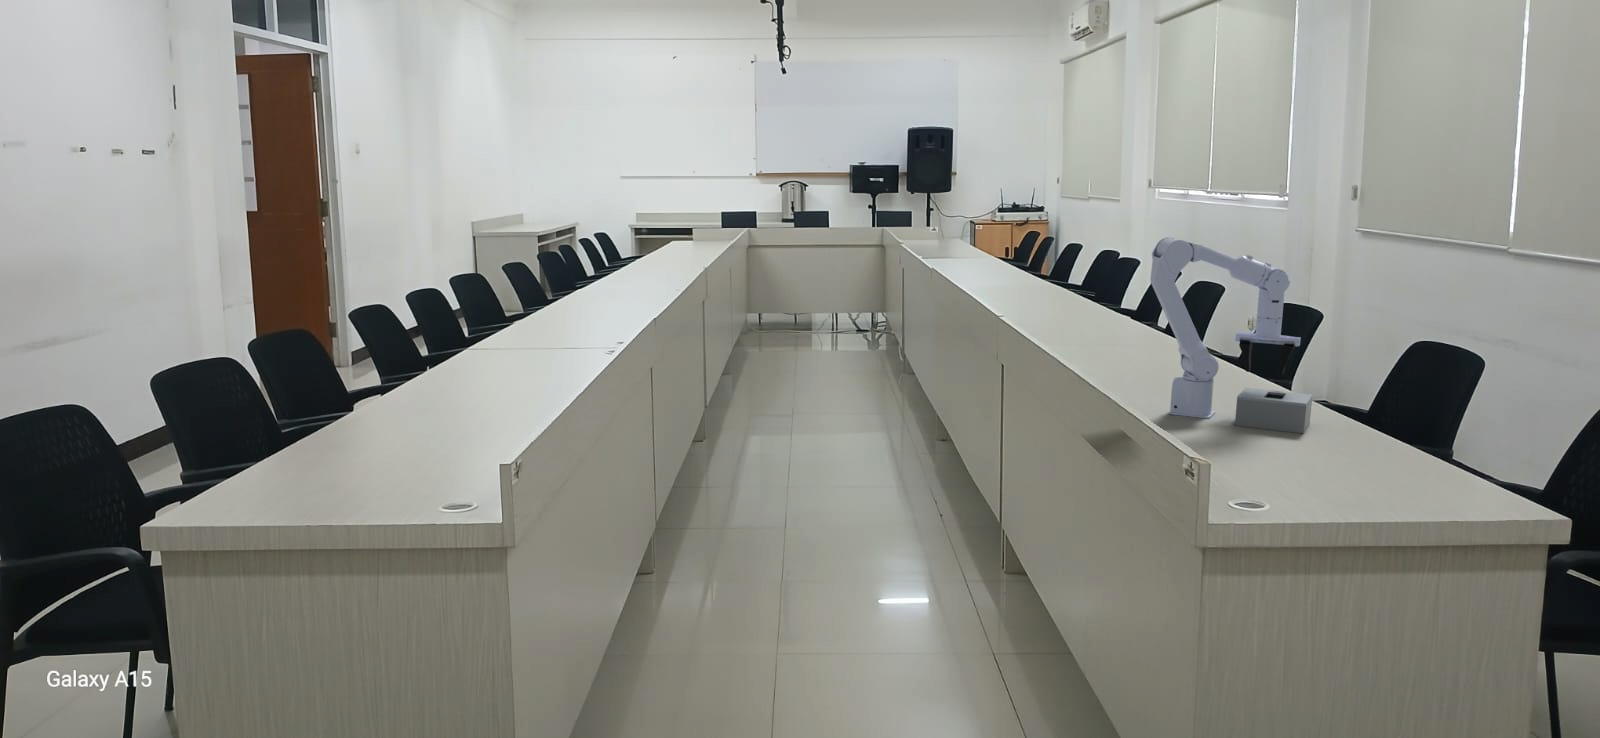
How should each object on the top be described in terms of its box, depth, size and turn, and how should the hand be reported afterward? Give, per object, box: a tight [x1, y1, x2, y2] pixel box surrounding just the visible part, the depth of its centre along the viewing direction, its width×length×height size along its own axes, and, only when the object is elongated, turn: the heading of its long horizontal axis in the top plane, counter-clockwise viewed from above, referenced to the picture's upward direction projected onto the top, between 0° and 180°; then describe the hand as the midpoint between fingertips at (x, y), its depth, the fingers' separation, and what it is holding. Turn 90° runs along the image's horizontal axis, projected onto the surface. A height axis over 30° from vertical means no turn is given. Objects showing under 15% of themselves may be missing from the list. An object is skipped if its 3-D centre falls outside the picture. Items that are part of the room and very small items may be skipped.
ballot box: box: [1234, 387, 1313, 434], centre depth 274 cm, size 15×12×7 cm
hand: (1264, 372), depth 283 cm, fingers open, 7 cm apart
